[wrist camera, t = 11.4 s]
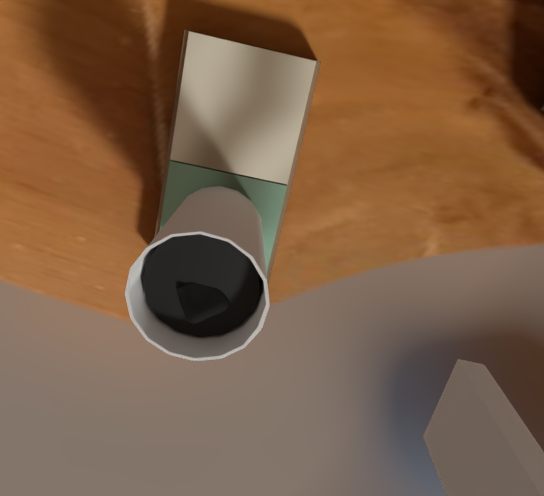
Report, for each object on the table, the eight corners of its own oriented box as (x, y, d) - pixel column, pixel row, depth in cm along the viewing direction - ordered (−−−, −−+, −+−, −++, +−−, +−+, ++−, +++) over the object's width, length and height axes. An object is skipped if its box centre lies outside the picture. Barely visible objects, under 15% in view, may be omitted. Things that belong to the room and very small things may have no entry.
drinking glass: (282, 260, 33) (287, 340, 24) (187, 287, 34) (156, 375, 25) (251, 165, 31) (243, 212, 22) (150, 196, 32) (101, 255, 22)
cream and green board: (156, 256, 36) (149, 269, 34) (189, 30, 30) (183, 29, 28) (266, 277, 36) (266, 291, 34) (318, 61, 31) (321, 61, 29)
